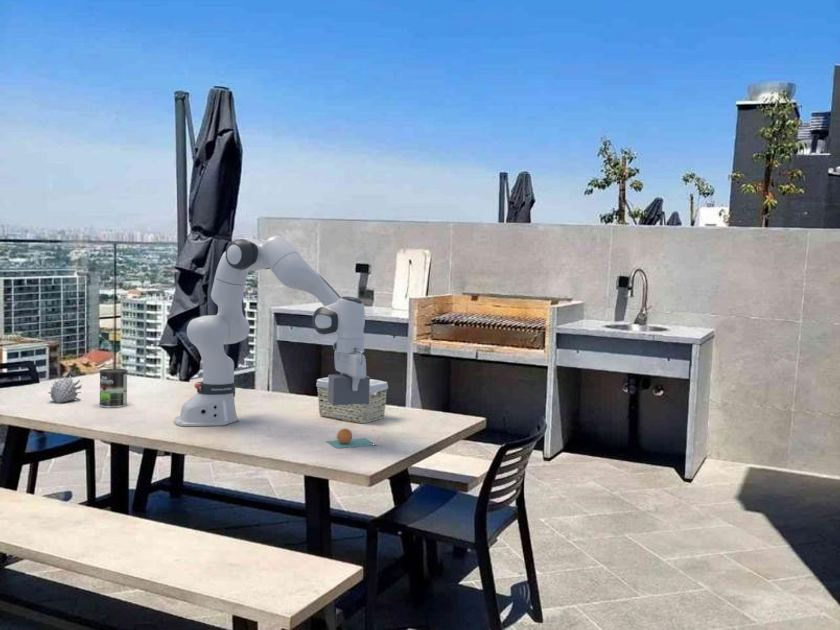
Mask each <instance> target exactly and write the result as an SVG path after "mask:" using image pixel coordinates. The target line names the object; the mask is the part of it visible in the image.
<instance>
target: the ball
mask: <svg viewBox="0 0 840 630" xmlns="http://www.w3.org/2000/svg"><path fill="white" fill-rule="evenodd" d="M336 438H337V439H336V440H338V441H339V442H340V443H342V444H348V443H349V442H350V441H351V440H352V439H353V433H352V431H351V430H350V429H349V428H342V429H340V430H339V431H338V432H337V434H336Z"/></svg>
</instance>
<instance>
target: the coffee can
mask: <svg viewBox="0 0 840 630" xmlns="http://www.w3.org/2000/svg"><path fill="white" fill-rule="evenodd" d="M127 397H128V369H125V368H103V369H99V407H100V408H105V409H107V408H108V409H111V408H112V409H113V408H114V409H116V408H124V407H126V406H127V405H128V398H127Z"/></svg>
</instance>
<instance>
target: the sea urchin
mask: <svg viewBox="0 0 840 630" xmlns="http://www.w3.org/2000/svg"><path fill="white" fill-rule="evenodd" d="M80 382H81V380H80V379H78V380H77V381H76V382H74V380H73V378H72V376H71V375H69V377H68V378H67V377H66V375H64V376H63V379H61V378H60V377H59V379H58V381H56V380H54V381H53V383H52V387H50V391H49V392H47V394H50V398H51V400H52V401H54V402H55V403H58V404H62V403H65V402H69V401H70V402H71V401H75V400H76V401H81V400H82V399H81V398H78V397H77V396H78V394H80V393H82V391H79V392H78V391H77V390H81V389H82V388H83V387H82V384H80V385H78V384H79V383H80ZM77 385H78V386H77ZM76 391H77V392H76Z"/></svg>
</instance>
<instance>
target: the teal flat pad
mask: <svg viewBox="0 0 840 630" xmlns="http://www.w3.org/2000/svg"><path fill="white" fill-rule="evenodd" d="M326 443H328V444H329V445H330V444H331V445H330V446H332V447H333V448H335V449H336V448H339V449H347V448H348V447H351V448H361V447H360V446H363V447H370V446H369V445H373V444H374V445H375V446H377V445H378V444H376V443H375V442H373V441H372V440H370V439H368V438H366V437H361V438H352V440H351V441H350V442H349V443H348V444H342V443H340V442H339V441H338V439H336V440H327V441H326ZM367 445H368V446H367Z"/></svg>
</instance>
